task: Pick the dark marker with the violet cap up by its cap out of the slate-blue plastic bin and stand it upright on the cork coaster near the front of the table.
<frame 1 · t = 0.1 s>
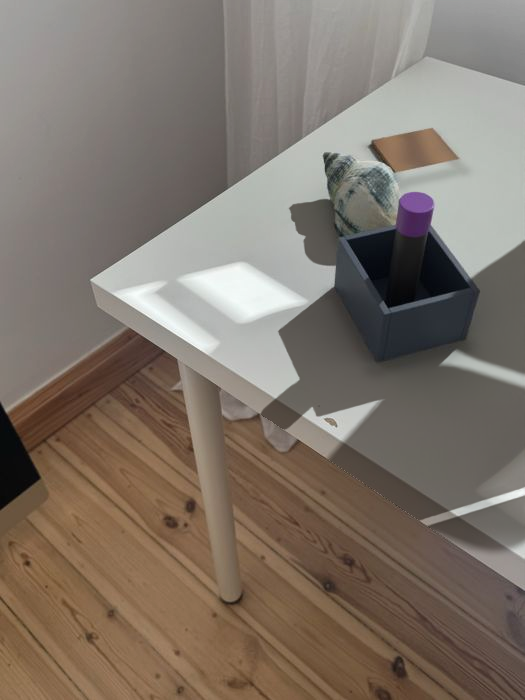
marker: (397, 311, 68), point 1 cm above the table, touching bin
bin: (397, 315, 68), on the table
seashell: (363, 220, 78), on the table
coaster: (416, 155, 85), on the table
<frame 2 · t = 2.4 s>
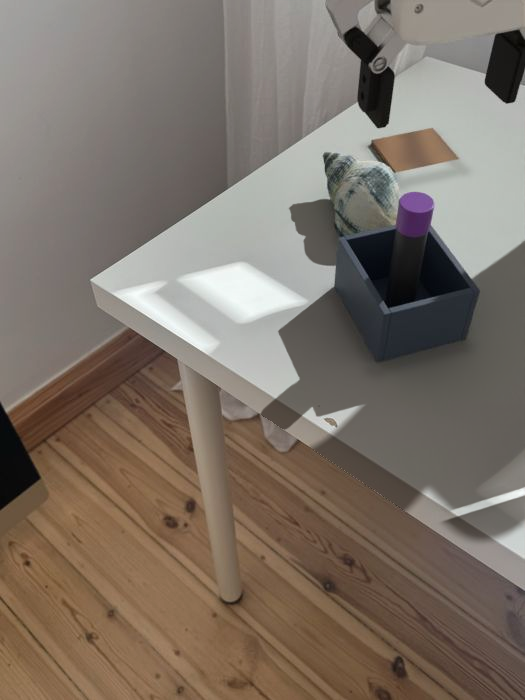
hand: (437, 105, 51), 22 cm above the table, tool pointing down, fingers open, 9 cm apart
nothing on the table moved.
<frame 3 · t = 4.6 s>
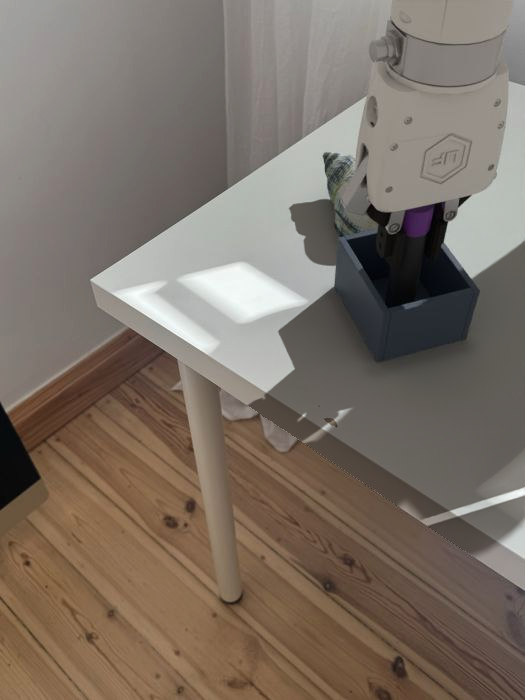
hand: (408, 253, 62), 8 cm above the table, tool pointing down, fingers closed on marker, 2 cm apart
marker: (397, 311, 68), point 1 cm above the table, touching bin, gripper
everything else where it was.
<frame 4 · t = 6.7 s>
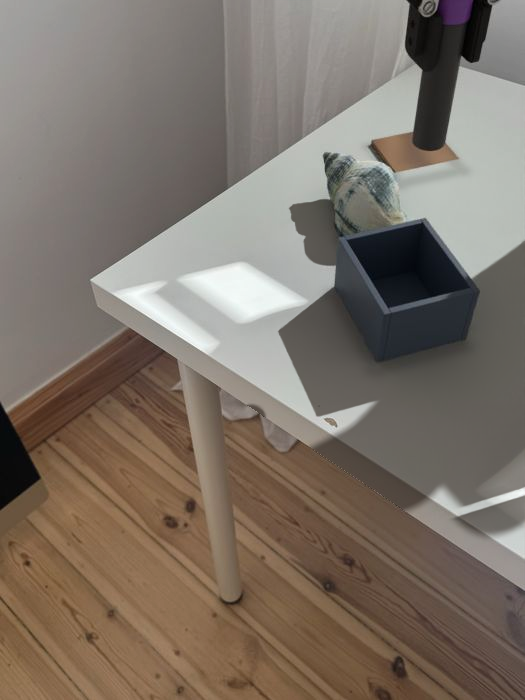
hand: (442, 56, 53), 24 cm above the table, tool pointing down, fingers closed on marker, 2 cm apart
marker: (428, 142, 58), point 16 cm above the table, touching gripper
everything else where it was.
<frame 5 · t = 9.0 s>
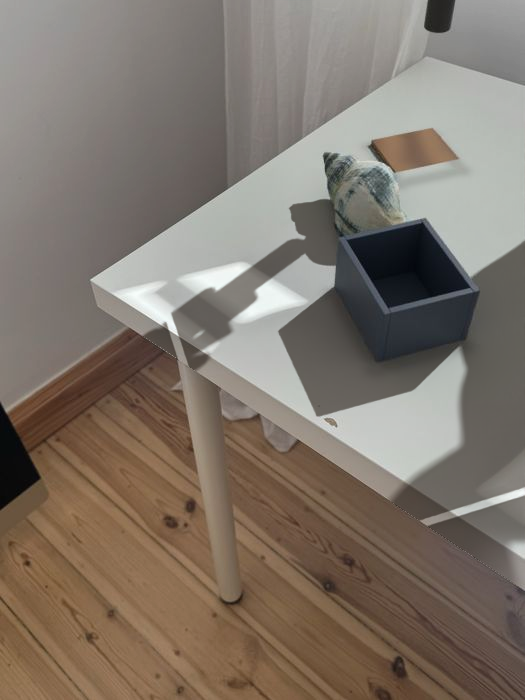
marker: (437, 27, 72), point 16 cm above the table, touching gripper
everything else where it was.
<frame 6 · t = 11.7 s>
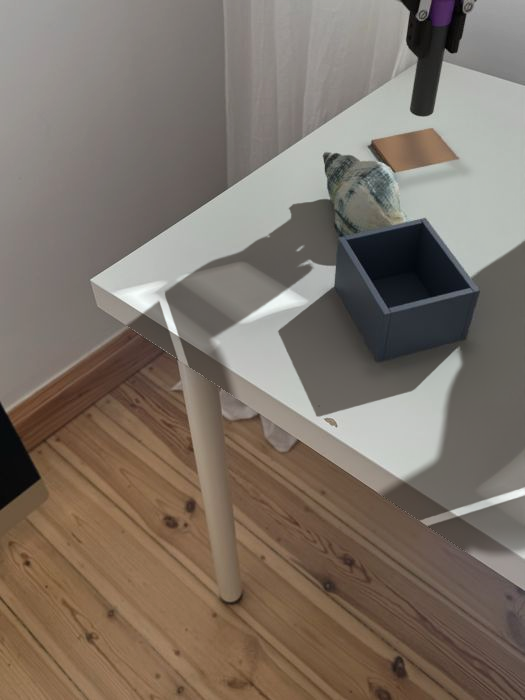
hand: (432, 48, 75), 13 cm above the table, tool pointing down, fingers closed on marker, 2 cm apart
marker: (421, 110, 81), point 6 cm above the table, touching gripper
everything else where it was.
when the fingers open (8 cm above the table, at t = 13.4 s): marker stays where it is, resting on coaster.
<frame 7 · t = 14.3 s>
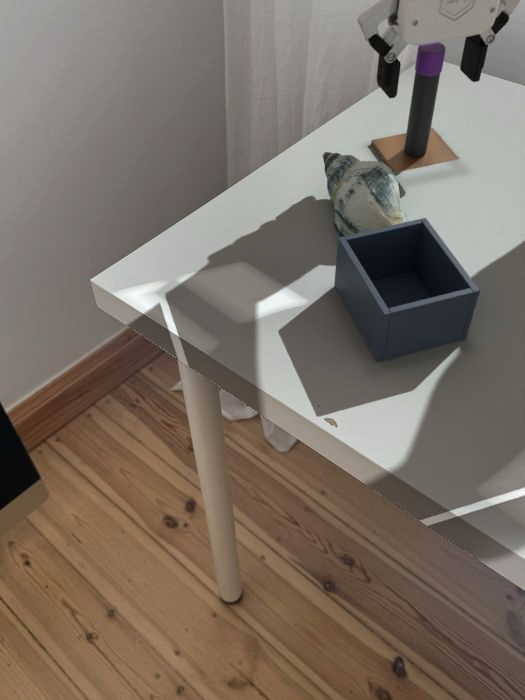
hand: (428, 83, 78), 9 cm above the table, tool pointing down, fingers open, 9 cm apart
marker: (415, 151, 85), resting on coaster
everything else where it was.
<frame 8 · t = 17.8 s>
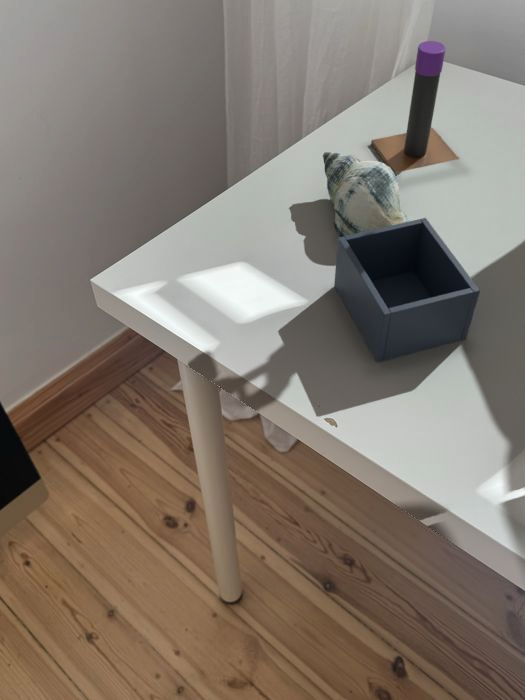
nothing on the table moved.
at the end: marker inside the target area on the coaster (0.2 cm from its centre), point 0.5 cm above the coaster's base; marker tilted 0°; the gripper is holding nothing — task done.
